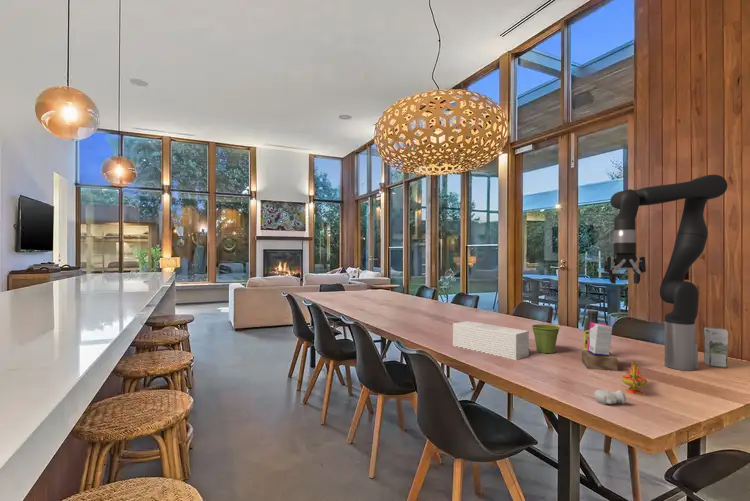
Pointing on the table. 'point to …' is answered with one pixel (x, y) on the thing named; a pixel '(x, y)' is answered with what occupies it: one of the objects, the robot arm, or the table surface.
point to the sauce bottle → (591, 319)
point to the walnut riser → (599, 361)
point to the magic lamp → (634, 380)
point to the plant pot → (545, 337)
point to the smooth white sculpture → (610, 397)
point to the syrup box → (716, 347)
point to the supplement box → (599, 339)
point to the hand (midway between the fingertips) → (624, 283)
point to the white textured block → (491, 339)
